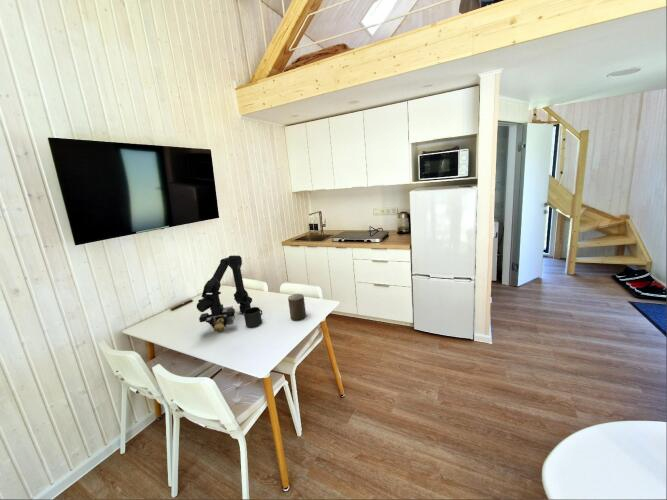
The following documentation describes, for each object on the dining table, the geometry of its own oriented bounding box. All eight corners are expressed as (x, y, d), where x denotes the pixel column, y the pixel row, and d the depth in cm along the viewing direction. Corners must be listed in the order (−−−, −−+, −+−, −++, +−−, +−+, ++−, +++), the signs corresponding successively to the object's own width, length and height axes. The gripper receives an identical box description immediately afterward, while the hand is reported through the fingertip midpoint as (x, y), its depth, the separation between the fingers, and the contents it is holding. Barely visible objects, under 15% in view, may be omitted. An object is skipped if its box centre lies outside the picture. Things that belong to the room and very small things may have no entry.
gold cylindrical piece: (219, 322, 170) (217, 313, 169) (228, 320, 172) (226, 312, 170) (214, 333, 157) (212, 324, 156) (225, 331, 158) (223, 322, 157)
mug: (268, 320, 168) (266, 306, 166) (253, 329, 159) (250, 315, 156) (258, 317, 173) (256, 304, 171) (242, 326, 164) (240, 312, 162)
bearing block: (215, 320, 175) (213, 309, 173) (234, 316, 177) (232, 305, 175) (212, 327, 165) (209, 316, 163) (232, 323, 168) (230, 312, 166)
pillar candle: (303, 321, 163) (300, 298, 159) (288, 320, 165) (285, 298, 161) (308, 313, 172) (305, 291, 168) (293, 313, 174) (290, 291, 170)
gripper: (233, 295, 165) (238, 318, 169) (201, 301, 162) (206, 324, 165) (231, 303, 155) (236, 327, 159) (196, 309, 151) (202, 334, 155)
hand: (220, 328), depth 160 cm, fingers closed on gold cylindrical piece, 5 cm apart
